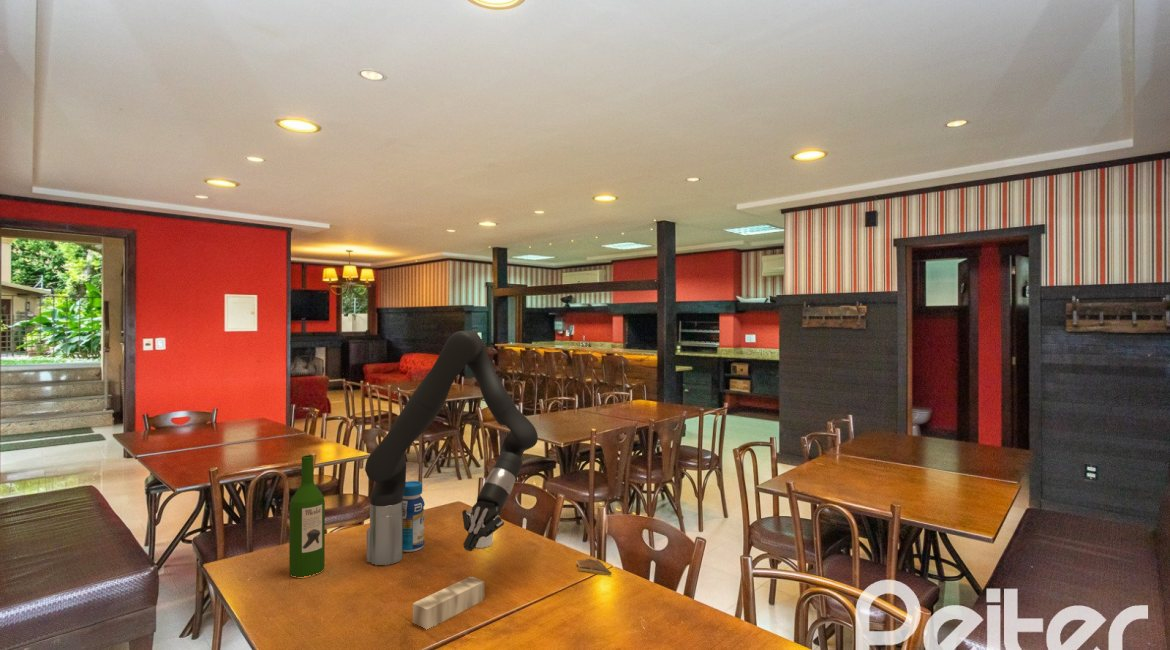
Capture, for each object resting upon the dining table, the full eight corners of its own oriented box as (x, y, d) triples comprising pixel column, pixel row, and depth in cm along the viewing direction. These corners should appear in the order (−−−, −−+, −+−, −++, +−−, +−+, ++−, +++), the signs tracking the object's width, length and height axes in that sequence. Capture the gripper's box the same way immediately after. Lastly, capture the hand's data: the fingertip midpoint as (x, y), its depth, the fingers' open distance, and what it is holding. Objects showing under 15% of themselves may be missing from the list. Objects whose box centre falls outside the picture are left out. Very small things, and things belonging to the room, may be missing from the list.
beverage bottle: (395, 544, 181) (395, 481, 181) (422, 540, 185) (422, 478, 185) (398, 554, 174) (398, 488, 174) (427, 550, 177) (427, 485, 177)
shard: (612, 578, 159) (612, 571, 159) (586, 582, 157) (586, 576, 157) (597, 562, 170) (597, 556, 170) (572, 566, 167) (572, 560, 167)
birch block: (470, 595, 149) (412, 624, 134) (470, 576, 149) (412, 603, 134) (484, 601, 146) (426, 631, 131) (484, 581, 146) (426, 609, 131)
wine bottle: (299, 581, 155) (299, 461, 155) (283, 572, 161) (283, 456, 161) (330, 570, 162) (331, 455, 162) (314, 562, 168) (314, 451, 168)
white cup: (497, 540, 186) (497, 509, 186) (490, 549, 178) (490, 517, 178) (473, 539, 187) (473, 508, 187) (465, 548, 179) (466, 516, 179)
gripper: (471, 478, 157) (440, 537, 146) (511, 484, 151) (481, 547, 140) (483, 492, 162) (454, 551, 151) (522, 499, 155) (494, 561, 145)
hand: (467, 549), depth 145 cm, fingers closed
